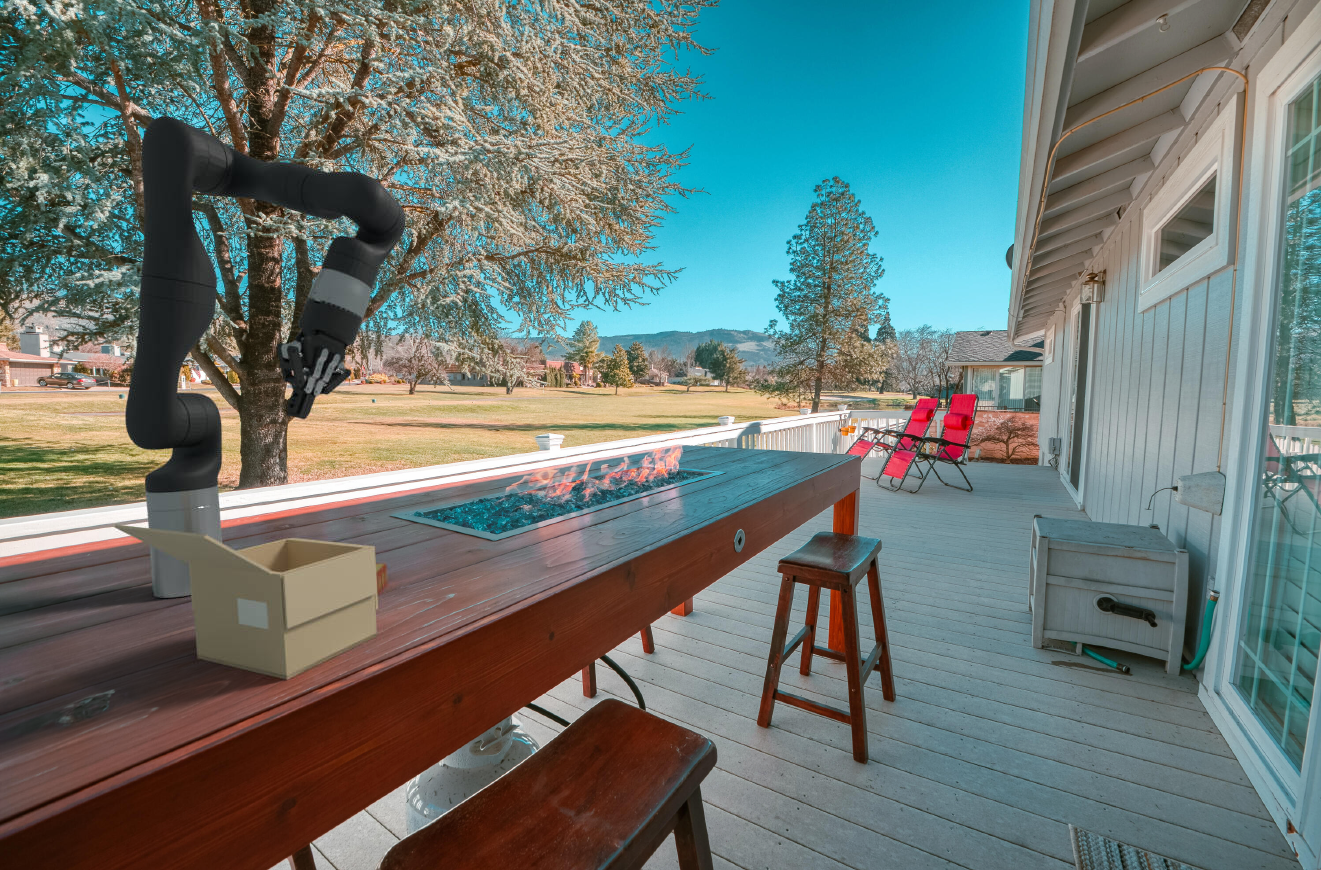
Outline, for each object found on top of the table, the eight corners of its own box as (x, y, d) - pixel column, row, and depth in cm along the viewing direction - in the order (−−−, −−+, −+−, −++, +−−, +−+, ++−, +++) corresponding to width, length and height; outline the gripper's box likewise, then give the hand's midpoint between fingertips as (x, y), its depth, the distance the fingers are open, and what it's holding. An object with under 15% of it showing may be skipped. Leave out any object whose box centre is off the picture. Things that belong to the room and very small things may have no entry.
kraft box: (194, 657, 68) (186, 561, 67) (294, 619, 80) (289, 537, 79) (289, 680, 62) (282, 575, 61) (382, 635, 74) (378, 546, 73)
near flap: (185, 559, 67) (184, 561, 66) (115, 524, 60) (113, 526, 60) (273, 571, 61) (272, 574, 61) (206, 534, 55) (203, 537, 55)
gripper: (344, 318, 90) (306, 419, 88) (280, 283, 77) (234, 400, 75) (384, 328, 89) (348, 431, 87) (327, 294, 76) (282, 414, 74)
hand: (295, 417), depth 81 cm, fingers closed
